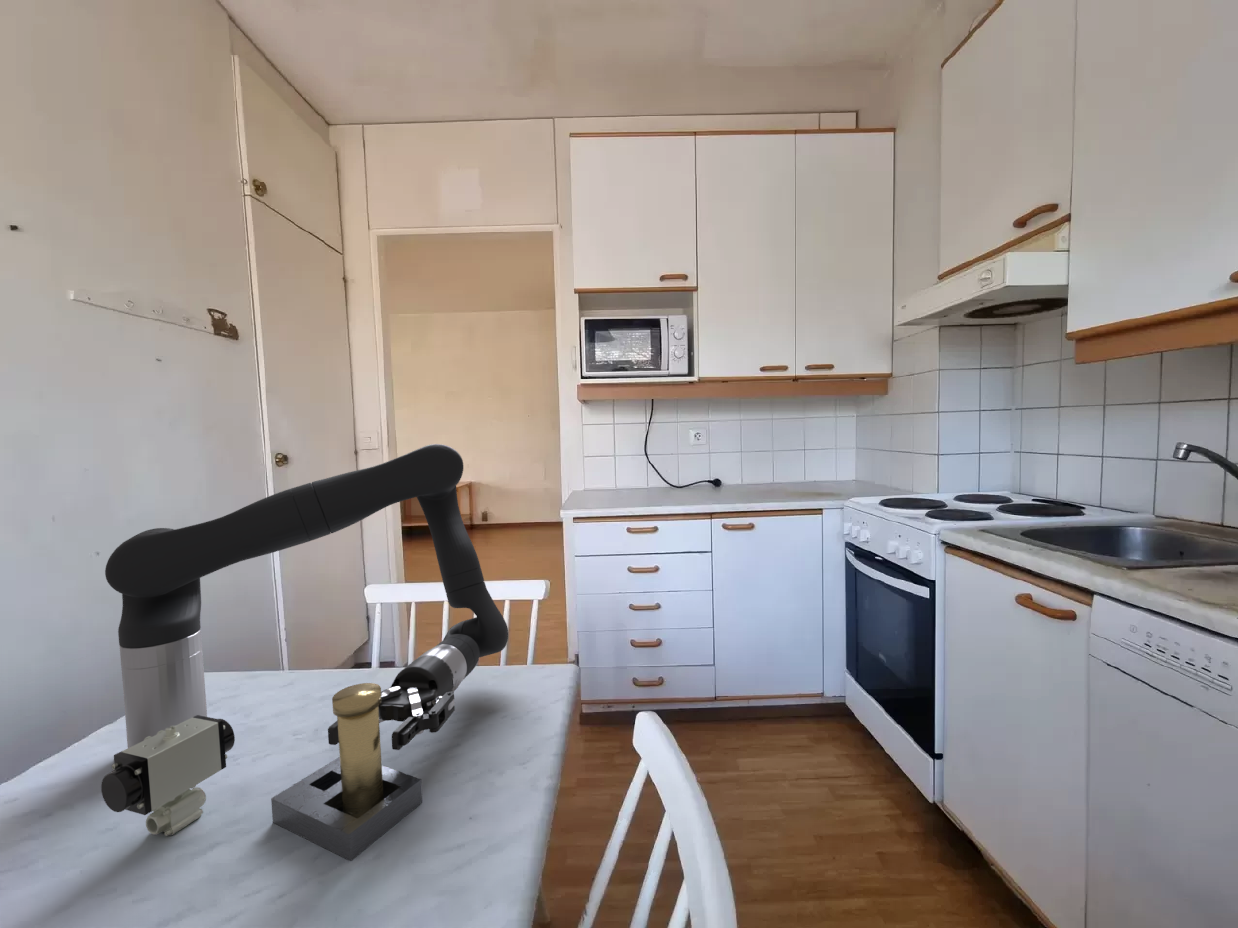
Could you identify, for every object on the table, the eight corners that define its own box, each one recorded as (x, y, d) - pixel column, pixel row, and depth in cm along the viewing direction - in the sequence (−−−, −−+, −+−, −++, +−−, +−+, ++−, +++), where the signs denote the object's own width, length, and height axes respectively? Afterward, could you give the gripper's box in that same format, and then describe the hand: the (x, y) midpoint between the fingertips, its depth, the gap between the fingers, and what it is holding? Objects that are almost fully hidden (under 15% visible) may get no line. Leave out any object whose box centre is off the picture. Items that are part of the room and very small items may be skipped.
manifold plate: (272, 822, 63) (271, 798, 63) (348, 773, 72) (346, 752, 72) (350, 860, 57) (348, 834, 57) (422, 802, 66) (421, 779, 66)
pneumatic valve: (240, 795, 68) (233, 705, 68) (133, 865, 57) (124, 759, 57) (209, 787, 70) (203, 700, 69) (100, 854, 59) (91, 751, 58)
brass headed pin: (330, 822, 62) (322, 699, 61) (368, 794, 67) (361, 679, 66) (359, 835, 60) (352, 708, 59) (397, 806, 65) (390, 687, 64)
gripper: (387, 652, 80) (308, 706, 64) (475, 655, 78) (415, 713, 62) (390, 700, 81) (311, 765, 65) (477, 705, 78) (418, 774, 62)
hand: (362, 740), depth 63 cm, fingers open, 8 cm apart
